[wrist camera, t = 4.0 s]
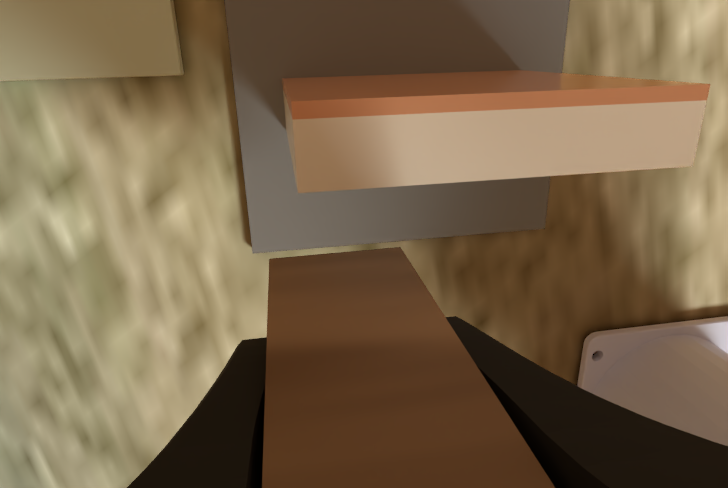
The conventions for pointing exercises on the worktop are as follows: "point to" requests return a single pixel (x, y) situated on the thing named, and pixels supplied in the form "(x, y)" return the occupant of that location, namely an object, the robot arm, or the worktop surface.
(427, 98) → the tile
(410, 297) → the block
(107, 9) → the board
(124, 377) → the worktop surface
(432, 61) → the mat
